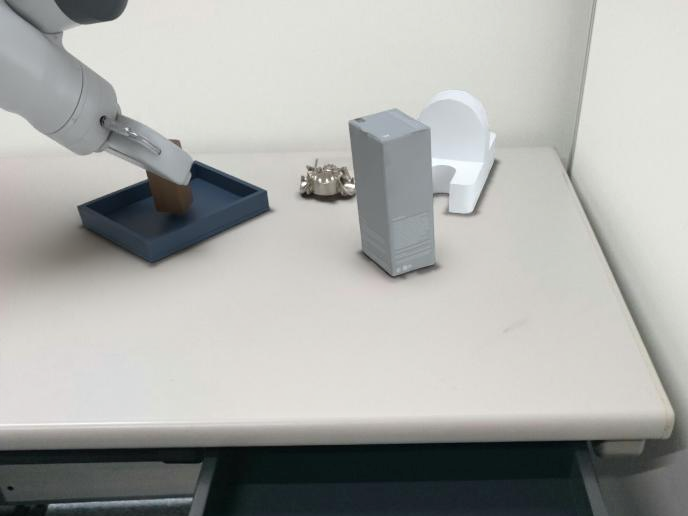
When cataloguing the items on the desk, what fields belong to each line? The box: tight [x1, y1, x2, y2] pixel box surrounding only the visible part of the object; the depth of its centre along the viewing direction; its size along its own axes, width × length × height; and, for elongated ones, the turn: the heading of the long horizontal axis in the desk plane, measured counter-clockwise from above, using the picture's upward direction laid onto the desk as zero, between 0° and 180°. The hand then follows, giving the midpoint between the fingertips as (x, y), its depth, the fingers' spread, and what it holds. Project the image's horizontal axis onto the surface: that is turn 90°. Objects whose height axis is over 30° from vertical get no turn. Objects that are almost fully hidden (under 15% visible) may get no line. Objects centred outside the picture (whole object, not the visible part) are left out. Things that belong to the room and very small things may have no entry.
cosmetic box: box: [348, 107, 436, 277], centre depth 85 cm, size 8×7×16 cm
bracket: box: [416, 89, 497, 215], centre depth 102 cm, size 19×10×11 cm, turn 166°
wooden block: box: [145, 138, 193, 213], centre depth 95 cm, size 4×4×8 cm
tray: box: [76, 159, 271, 264], centre depth 98 cm, size 16×20×3 cm
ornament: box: [298, 163, 356, 197], centre depth 102 cm, size 8×7×4 cm
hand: (171, 171), depth 95 cm, fingers closed on wooden block, 5 cm apart
